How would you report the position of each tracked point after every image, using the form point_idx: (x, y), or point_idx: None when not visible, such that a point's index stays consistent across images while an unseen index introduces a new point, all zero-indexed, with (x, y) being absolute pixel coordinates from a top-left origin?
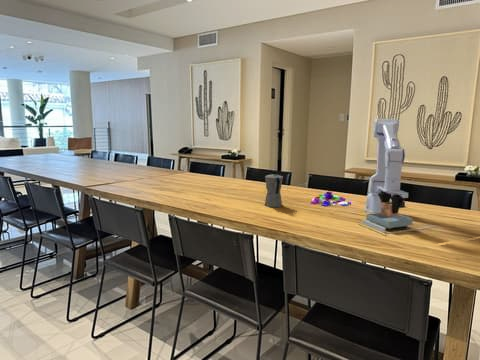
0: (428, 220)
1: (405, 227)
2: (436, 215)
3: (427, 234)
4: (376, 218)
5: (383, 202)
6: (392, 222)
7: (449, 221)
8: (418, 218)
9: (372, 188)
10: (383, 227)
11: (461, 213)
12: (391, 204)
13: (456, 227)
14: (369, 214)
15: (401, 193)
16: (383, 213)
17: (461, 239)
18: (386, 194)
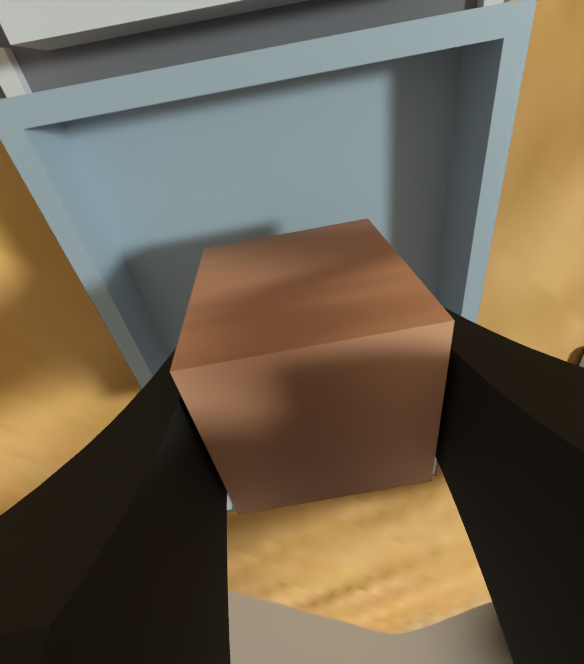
0: (361, 517)
1: None
2: (411, 561)
3: (109, 413)
4: (274, 49)
5: (446, 358)
6: (38, 187)
7: (320, 563)
8: (407, 500)
9: None
10: (31, 17)
11: (394, 612)
12: (232, 416)
13: (234, 552)
14: (481, 37)
15: None
16: (325, 237)
17: None
18: (574, 618)
